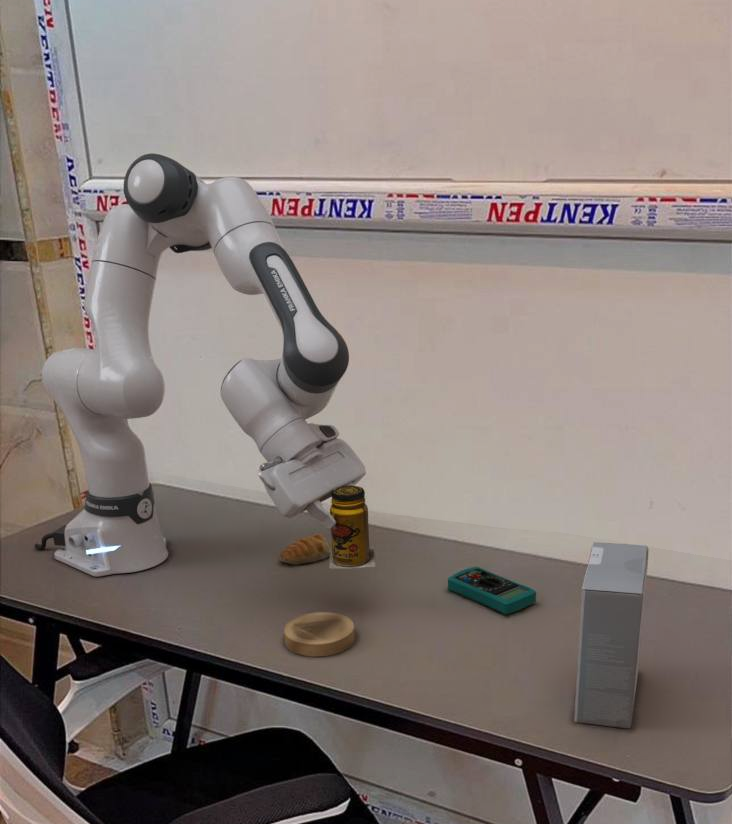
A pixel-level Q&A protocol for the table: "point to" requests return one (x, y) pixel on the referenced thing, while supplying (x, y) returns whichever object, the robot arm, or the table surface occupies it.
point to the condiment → (350, 529)
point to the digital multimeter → (491, 590)
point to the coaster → (319, 634)
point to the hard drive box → (610, 634)
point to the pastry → (306, 550)
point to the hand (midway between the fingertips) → (347, 518)
